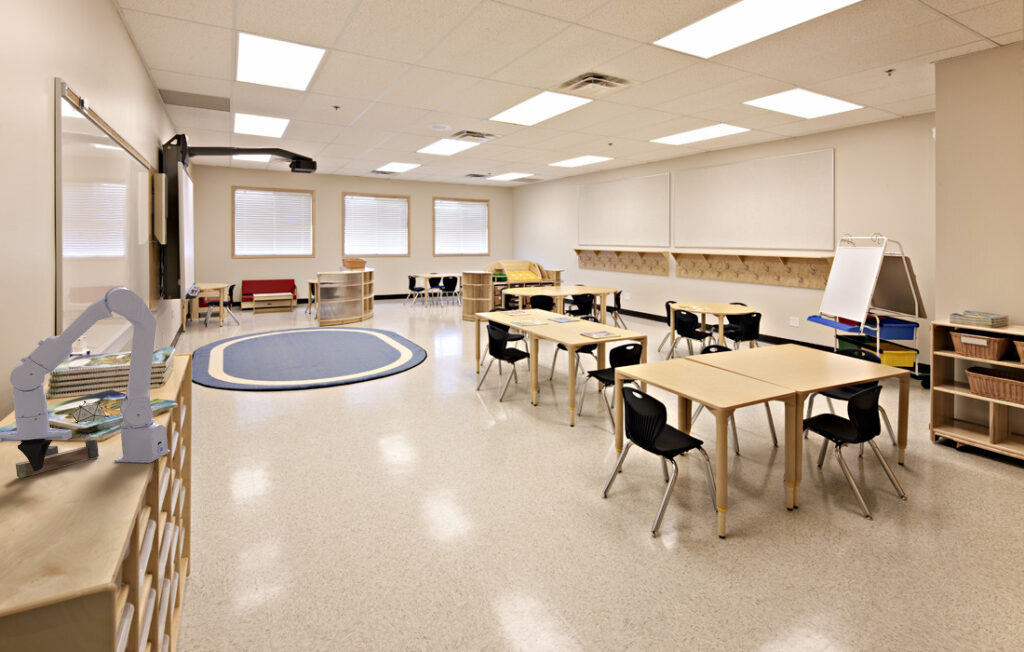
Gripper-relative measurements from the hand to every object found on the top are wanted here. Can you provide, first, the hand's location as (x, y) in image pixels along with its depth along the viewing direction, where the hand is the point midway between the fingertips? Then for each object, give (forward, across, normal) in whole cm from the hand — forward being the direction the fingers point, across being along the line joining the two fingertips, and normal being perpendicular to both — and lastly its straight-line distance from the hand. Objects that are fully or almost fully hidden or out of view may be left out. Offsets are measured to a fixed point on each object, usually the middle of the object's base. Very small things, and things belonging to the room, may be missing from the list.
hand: (38, 469), depth 128 cm
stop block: (+2, +5, -13) cm, 14 cm away
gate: (+1, -2, -5) cm, 6 cm away
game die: (+2, +8, -36) cm, 37 cm away
